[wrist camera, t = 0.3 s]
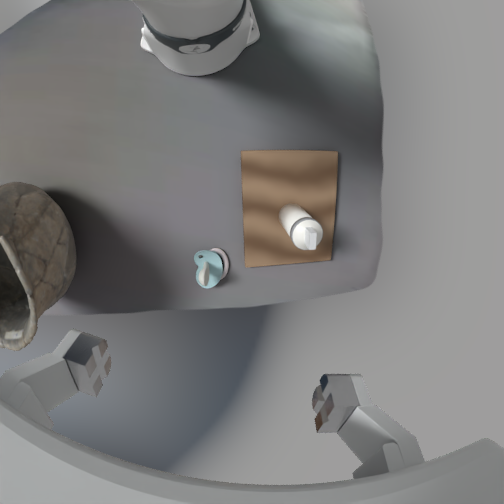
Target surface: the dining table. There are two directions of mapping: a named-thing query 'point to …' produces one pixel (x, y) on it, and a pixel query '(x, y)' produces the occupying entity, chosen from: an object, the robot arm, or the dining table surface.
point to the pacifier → (210, 267)
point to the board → (286, 202)
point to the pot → (31, 260)
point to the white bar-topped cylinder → (300, 227)
